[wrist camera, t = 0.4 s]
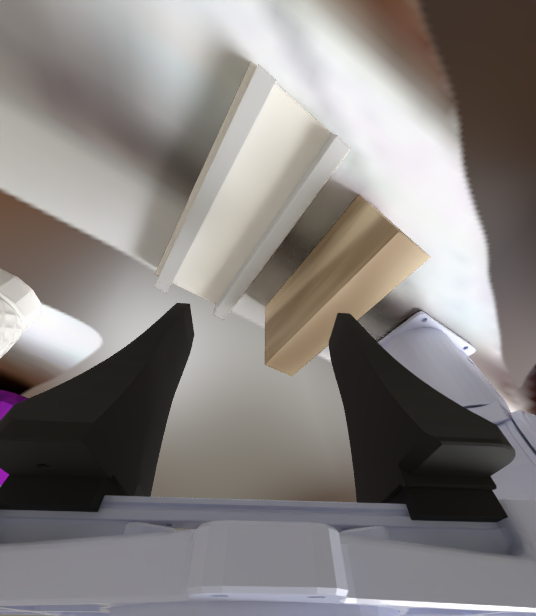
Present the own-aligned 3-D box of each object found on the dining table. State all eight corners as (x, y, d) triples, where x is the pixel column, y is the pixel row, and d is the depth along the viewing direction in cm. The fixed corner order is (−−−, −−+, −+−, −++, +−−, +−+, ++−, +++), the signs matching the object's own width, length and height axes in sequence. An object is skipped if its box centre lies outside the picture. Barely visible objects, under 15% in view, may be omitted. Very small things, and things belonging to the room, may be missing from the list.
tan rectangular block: (382, 214, 19) (430, 257, 13) (286, 317, 25) (292, 376, 19) (358, 194, 18) (399, 231, 12) (265, 306, 24) (264, 364, 19)
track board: (345, 148, 16) (357, 153, 14) (231, 305, 24) (228, 322, 22) (252, 63, 14) (249, 56, 12) (158, 268, 21) (147, 284, 19)
